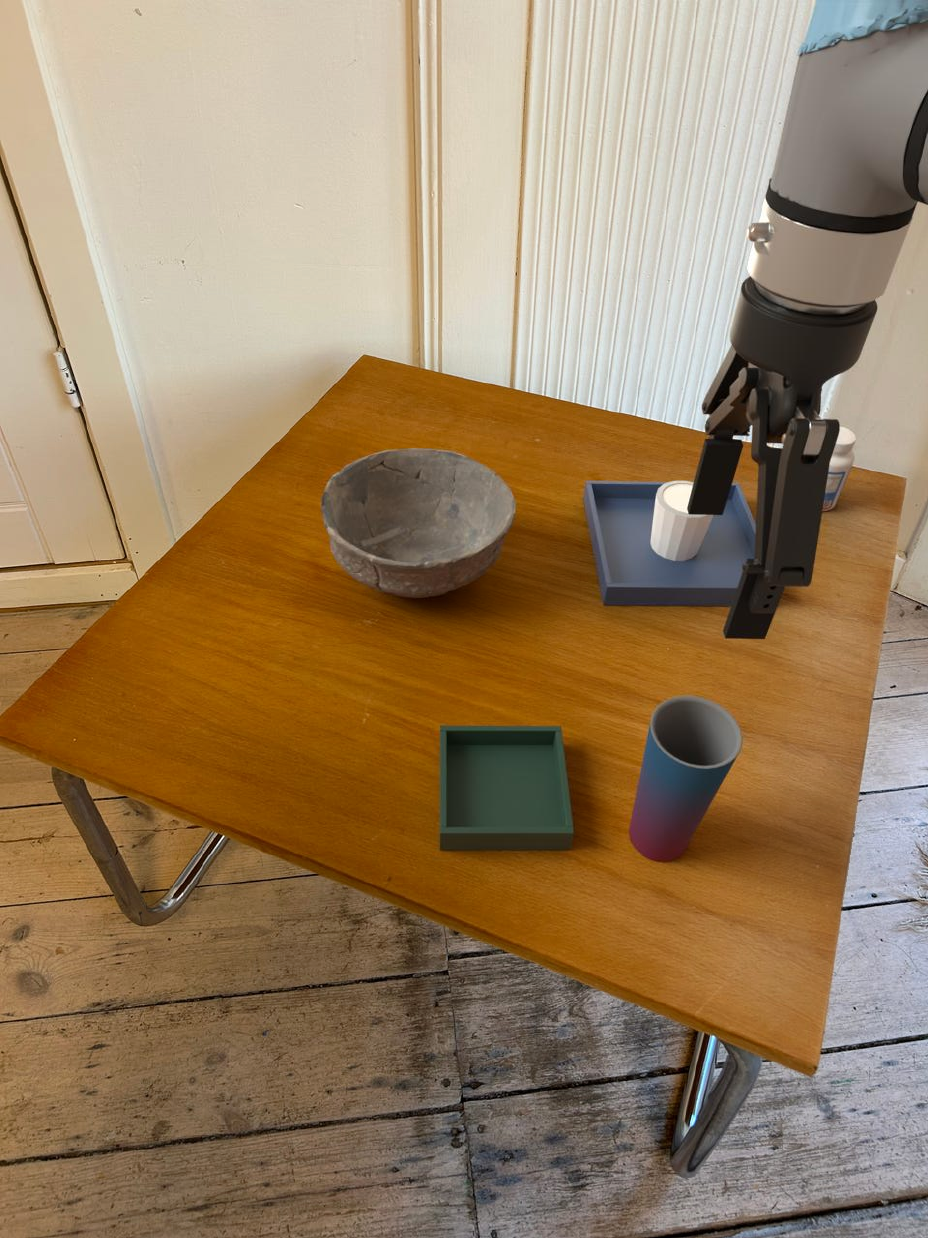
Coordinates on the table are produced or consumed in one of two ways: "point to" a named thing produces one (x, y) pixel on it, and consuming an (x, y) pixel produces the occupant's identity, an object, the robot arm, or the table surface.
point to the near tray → (504, 789)
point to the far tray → (648, 577)
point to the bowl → (416, 520)
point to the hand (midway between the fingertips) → (722, 569)
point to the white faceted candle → (677, 523)
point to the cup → (681, 773)
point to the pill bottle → (839, 467)
